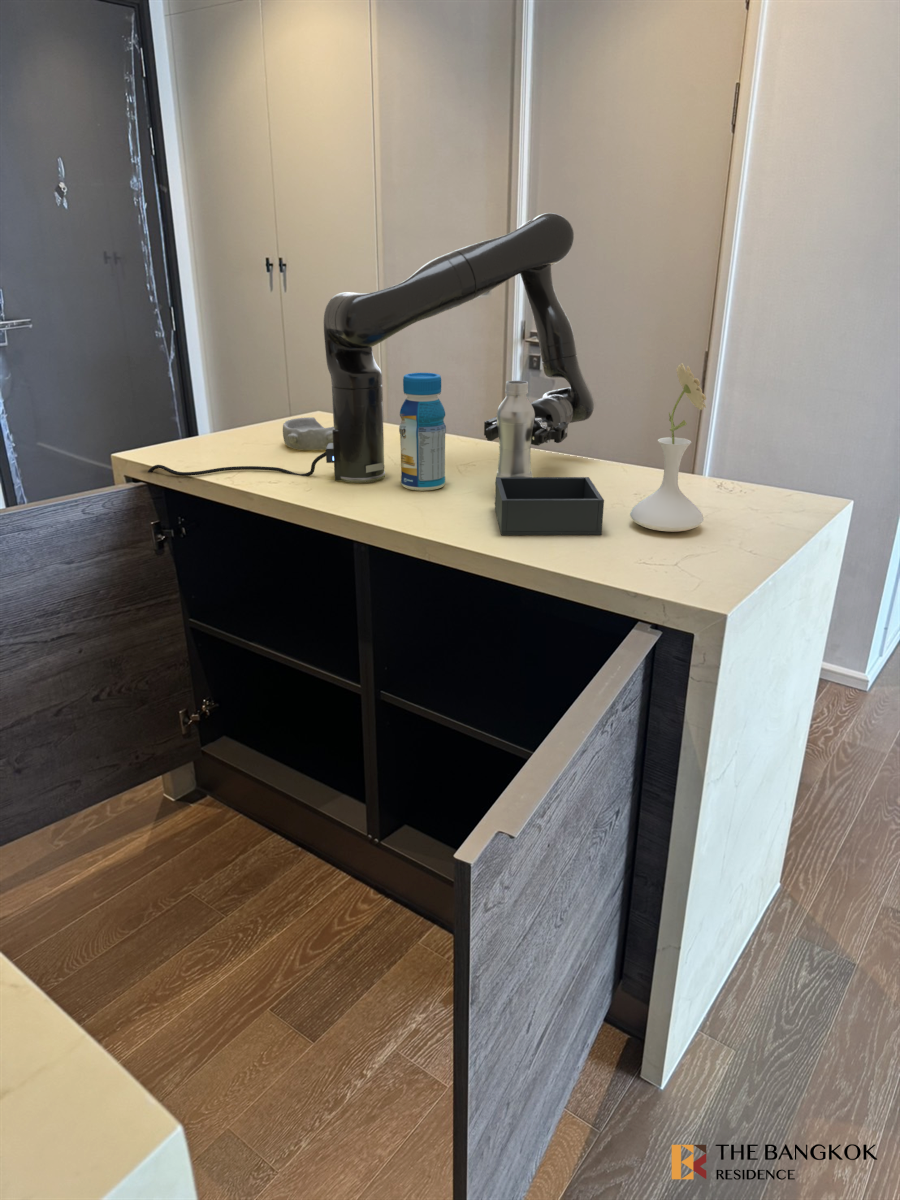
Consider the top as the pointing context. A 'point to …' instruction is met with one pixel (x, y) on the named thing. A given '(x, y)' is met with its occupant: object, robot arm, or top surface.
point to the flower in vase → (672, 474)
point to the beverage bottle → (422, 433)
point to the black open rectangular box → (548, 506)
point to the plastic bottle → (515, 431)
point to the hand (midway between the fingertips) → (512, 437)
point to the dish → (306, 434)
